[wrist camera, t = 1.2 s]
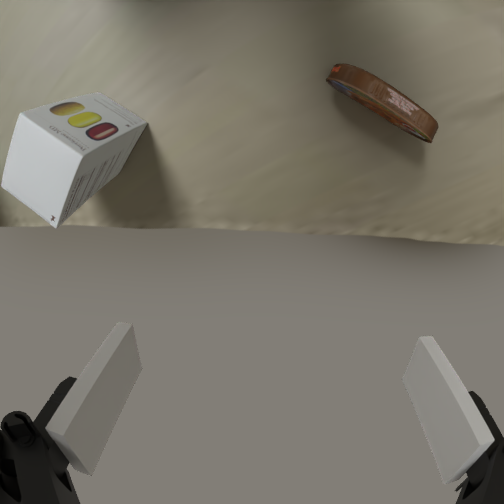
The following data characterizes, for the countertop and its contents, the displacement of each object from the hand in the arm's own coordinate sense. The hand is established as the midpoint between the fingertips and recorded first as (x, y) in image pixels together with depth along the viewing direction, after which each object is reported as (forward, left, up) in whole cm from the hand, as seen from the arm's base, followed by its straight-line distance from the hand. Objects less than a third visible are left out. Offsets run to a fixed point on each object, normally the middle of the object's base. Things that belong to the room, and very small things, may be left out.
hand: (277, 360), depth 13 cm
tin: (-13, +10, -32) cm, 36 cm away
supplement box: (+2, -23, -32) cm, 39 cm away
